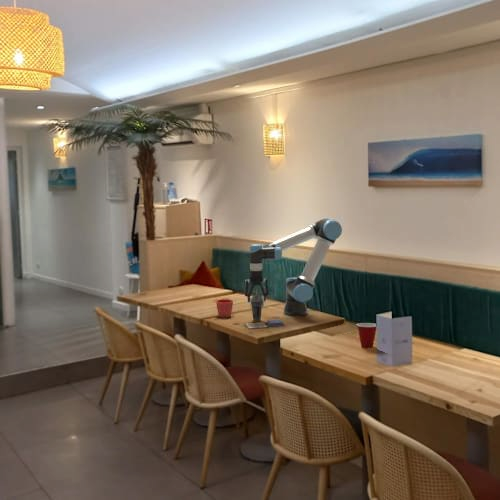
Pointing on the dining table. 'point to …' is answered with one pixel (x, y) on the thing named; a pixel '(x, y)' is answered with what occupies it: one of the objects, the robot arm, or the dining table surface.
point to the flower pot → (224, 307)
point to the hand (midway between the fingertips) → (256, 307)
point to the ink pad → (274, 323)
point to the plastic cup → (366, 334)
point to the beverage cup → (256, 307)
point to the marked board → (256, 325)
